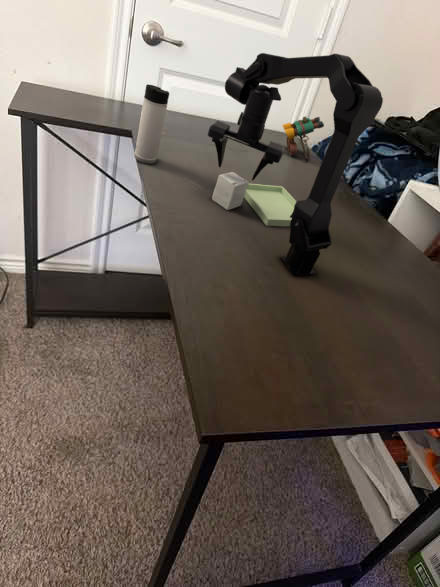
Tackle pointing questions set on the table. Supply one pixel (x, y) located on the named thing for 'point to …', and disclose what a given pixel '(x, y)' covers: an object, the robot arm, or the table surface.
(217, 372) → the table surface
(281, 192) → the tray
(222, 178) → the product carton
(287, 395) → the table surface
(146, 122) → the travel mug
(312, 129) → the binoculars
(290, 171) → the table surface
